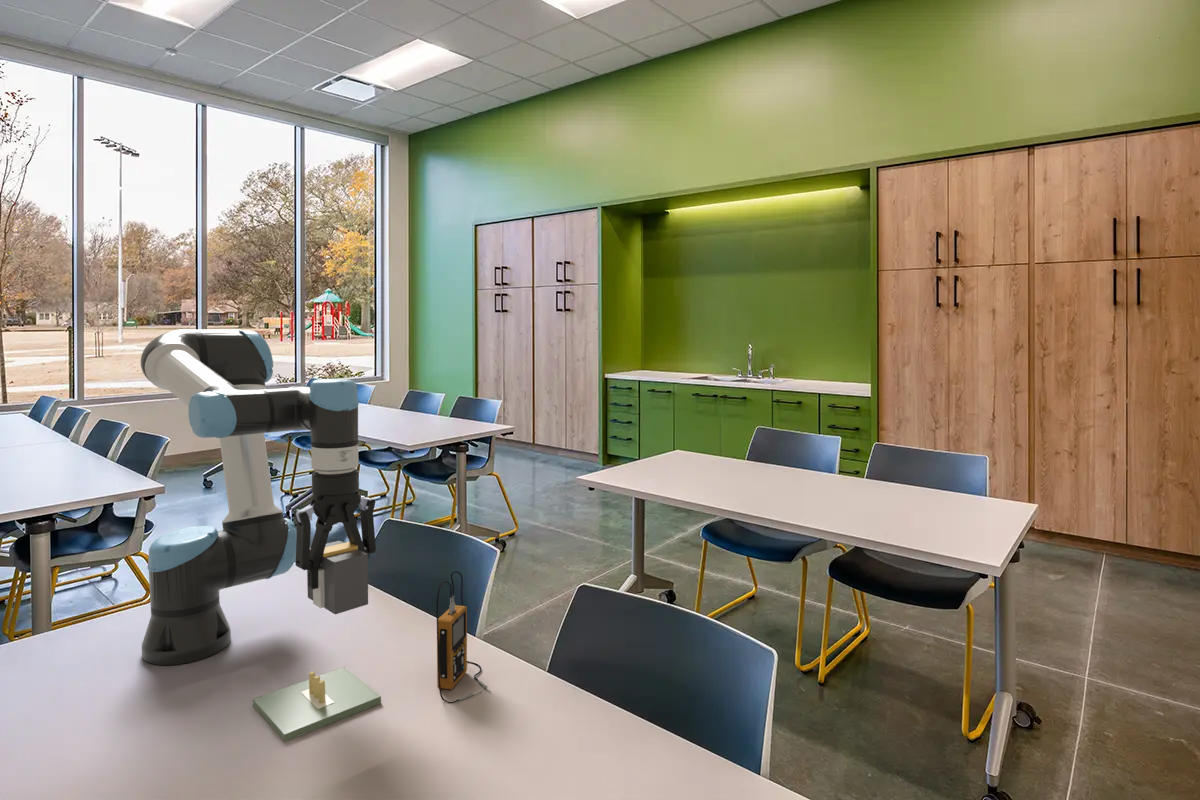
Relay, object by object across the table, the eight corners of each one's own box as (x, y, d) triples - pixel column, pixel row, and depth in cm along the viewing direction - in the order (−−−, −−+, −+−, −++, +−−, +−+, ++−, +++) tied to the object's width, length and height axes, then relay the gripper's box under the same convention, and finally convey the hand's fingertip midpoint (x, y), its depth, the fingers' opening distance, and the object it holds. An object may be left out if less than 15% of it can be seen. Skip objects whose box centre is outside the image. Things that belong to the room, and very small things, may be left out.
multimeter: (482, 708, 115) (482, 595, 113) (427, 701, 117) (426, 589, 115) (510, 667, 129) (510, 565, 127) (461, 661, 131) (461, 561, 129)
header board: (252, 705, 114) (252, 678, 114) (344, 673, 125) (344, 648, 125) (284, 741, 104) (283, 712, 104) (381, 702, 116) (380, 676, 115)
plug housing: (307, 597, 119) (306, 544, 118) (340, 588, 123) (339, 537, 122) (334, 614, 112) (333, 558, 111) (368, 604, 117) (367, 550, 116)
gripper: (288, 481, 106) (292, 622, 108) (396, 465, 120) (398, 590, 122) (269, 474, 111) (272, 609, 113) (374, 459, 125) (376, 580, 127)
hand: (337, 599), depth 118 cm, fingers closed on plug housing, 6 cm apart
